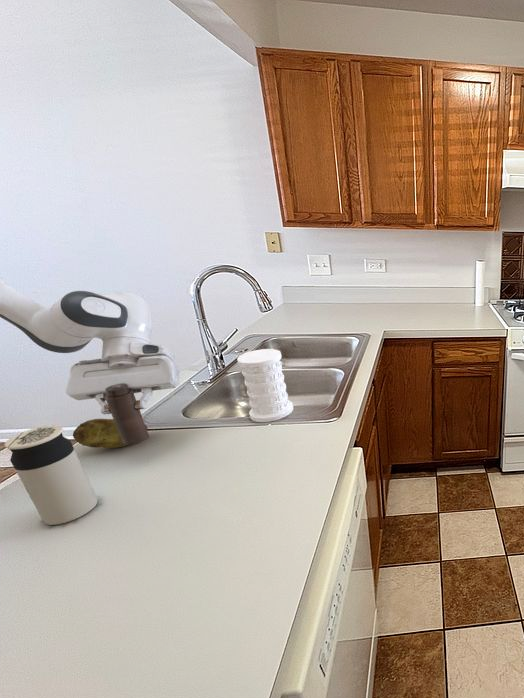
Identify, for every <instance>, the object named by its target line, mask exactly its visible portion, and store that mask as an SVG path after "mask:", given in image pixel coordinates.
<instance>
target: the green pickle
mask: <svg viewBox="0 0 524 698" xmlns="http://www.w3.org/2000/svg"><path fill="white" fill-rule="evenodd" d="M145 426H146V429H147V431H148V430H149V429H148V426H147V425H146V424H145ZM148 432H149V431H148ZM72 437H73V439H74V441H76V443H78V444H80V445H82V446H83V447H88V448H95V449H99V448H102V449H103V448H105V449H118V448H122V447H126V446H129V445H130V444H124V443H123V442H122V439H121V437H120V434H119V432H118V429H117V427H116V424H115V422H114V419H113V418H93V419H89V420H86V421H84V422H81V423H80V424H79V425H78V426H77V427H76V428H75V429H74V430H73V432H72Z"/></svg>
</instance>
